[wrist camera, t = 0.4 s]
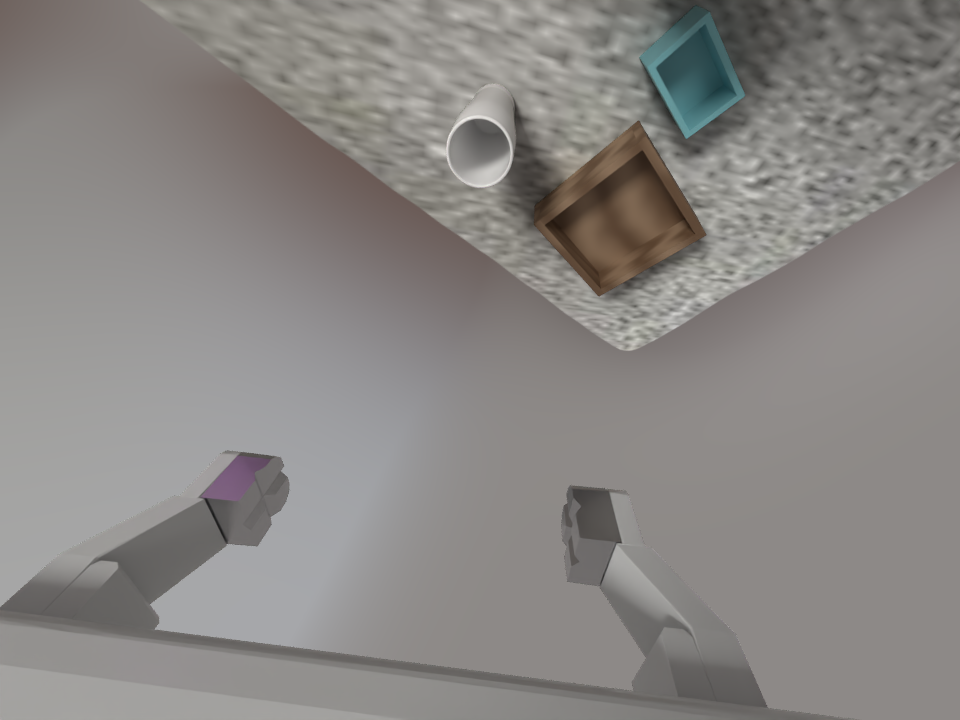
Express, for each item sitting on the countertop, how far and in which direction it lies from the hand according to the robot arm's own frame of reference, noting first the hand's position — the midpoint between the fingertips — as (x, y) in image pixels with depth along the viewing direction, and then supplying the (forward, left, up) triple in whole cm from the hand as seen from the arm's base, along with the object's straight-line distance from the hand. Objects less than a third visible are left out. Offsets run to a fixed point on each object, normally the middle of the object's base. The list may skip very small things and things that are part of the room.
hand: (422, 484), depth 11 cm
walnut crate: (0, +22, -50) cm, 54 cm away
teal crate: (-14, +13, -50) cm, 53 cm away
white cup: (+4, +1, -50) cm, 50 cm away
